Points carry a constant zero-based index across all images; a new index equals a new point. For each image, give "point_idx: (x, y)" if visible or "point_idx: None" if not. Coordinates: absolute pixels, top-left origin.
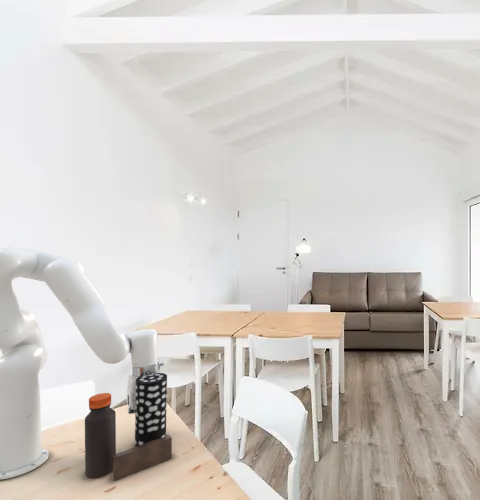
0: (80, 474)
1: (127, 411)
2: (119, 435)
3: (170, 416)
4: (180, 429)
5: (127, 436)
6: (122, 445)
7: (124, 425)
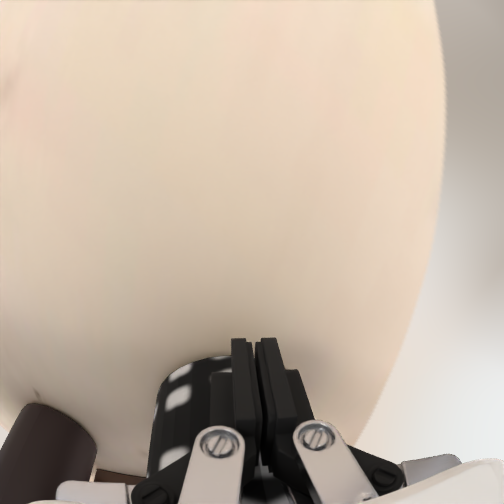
0: (12, 401)
1: (58, 492)
2: (96, 192)
3: (435, 169)
4: (383, 366)
5: (134, 249)
6: (103, 338)
7: (163, 47)
